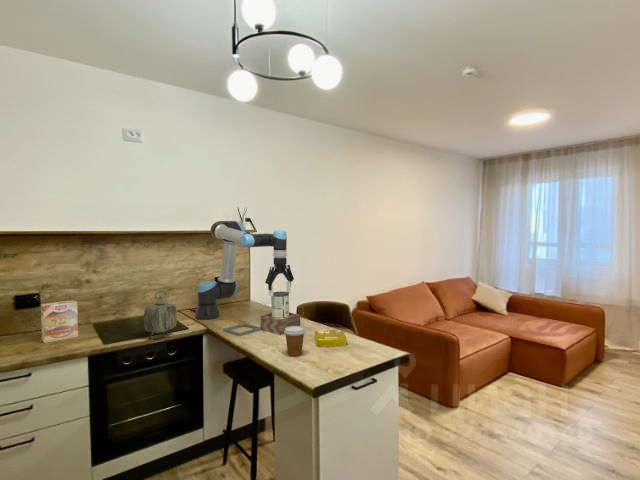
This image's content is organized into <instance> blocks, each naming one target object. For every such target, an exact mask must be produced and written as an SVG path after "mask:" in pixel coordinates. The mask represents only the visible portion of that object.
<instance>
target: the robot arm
mask: <svg viewBox="0 0 640 480" xmlns="http://www.w3.org/2000/svg"><path fill="white" fill-rule="evenodd" d="M210 234H211V236H212V237H213V238H215V239H218V240H222V242H223V252H222V262H221V268H220V269H221V270H220V276H218V277H217V281H216V280H205V281H202V282H200V283H198V285H197V308H196V312H195V316H194V317H195V319H196V320H201V321H206V320H207V321H209V320H214V319H217V318H219V317H220V311H219V308H218V305H217V301H218V300H224V299H230V298H233V297H235V296H236V295H237V293H238V288H239V287H238V286H239V285H238V283H237V281H236V279H235V277H234V274H235V267H236V259H237V251H238V245H240V246H241V247H242V248H247V249H249V248H264V247H270V248H272V247H273V266H269V271H268V274H267V277H266V279H265V284H267V285H268V286H267V288H268V289H267V290H268V296H270V297H271V296H273V292H274V284H273V283H274V282H275V280H276V278H277V277H278V275H280V274H282V275H283V276H284V277H285V279H286V292H289V294H290V293H291V292H292V291H291V287H292V282H293V281H294V280H295V277H294V275H293V273H292V270H291V266H290V264H287V261H288V260H287V256H288V255H287V254H288V253H287V249H288V248H287V245H288V244H287V242H288V241H287V238H288V237H287V231H286V230H273V233H250V232H247V231H246V228H245V227H244V224H243V223H242V222H241V221H237V220H219V221H215V222H214V223H213V224H212V225H211V226H210Z"/></svg>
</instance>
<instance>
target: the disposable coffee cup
mask: <svg viewBox="0 0 640 480" xmlns="http://www.w3.org/2000/svg"><path fill="white" fill-rule="evenodd" d="M305 332H306V331H305V328H304V327H303V326H301V325H300V326H290V327H287V328H285V331H284V333H285V334H284V335H285V341H286V342H285V343H286V348H287V349H286V350H287V355H288V356H289V357H300V356H301V355H302V354H303V344H304V336H305V335H304V334H305Z"/></svg>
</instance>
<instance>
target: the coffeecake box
mask: <svg viewBox="0 0 640 480" xmlns="http://www.w3.org/2000/svg"><path fill="white" fill-rule="evenodd" d="M40 310H41V312H40V313H41V314H40V315H41V316H40V318H41V321H40V322H41V341H42V343H44V344H46V343H53V342H57V341H63V340H68V339H69V340H70V339H73V338H74V339H75V338H78V337H79V321H78V320H79V318H78V317H79V315H78V312H79V311H78V301H77V300H73V299H72V300H63V301H57V302H48V303H40Z"/></svg>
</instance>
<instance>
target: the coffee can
mask: <svg viewBox="0 0 640 480" xmlns="http://www.w3.org/2000/svg"><path fill="white" fill-rule="evenodd" d="M270 297H271V299H270V302H271V313H272V318H275V319H284V318H288V317H289V312H290V293H289V292H287V291H273V296H270Z"/></svg>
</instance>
